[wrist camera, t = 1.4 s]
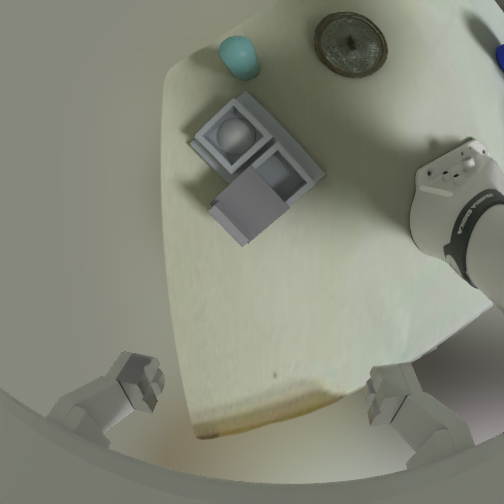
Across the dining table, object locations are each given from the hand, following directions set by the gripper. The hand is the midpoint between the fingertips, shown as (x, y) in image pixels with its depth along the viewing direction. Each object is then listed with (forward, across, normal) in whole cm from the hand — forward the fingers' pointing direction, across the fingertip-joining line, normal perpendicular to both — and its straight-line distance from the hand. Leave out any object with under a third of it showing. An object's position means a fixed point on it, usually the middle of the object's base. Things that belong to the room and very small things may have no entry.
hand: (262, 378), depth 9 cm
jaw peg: (+32, +4, -20) cm, 38 cm away
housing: (+32, +3, -6) cm, 33 cm away
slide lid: (+27, +4, 0) cm, 28 cm away
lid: (+32, -11, -23) cm, 41 cm away
